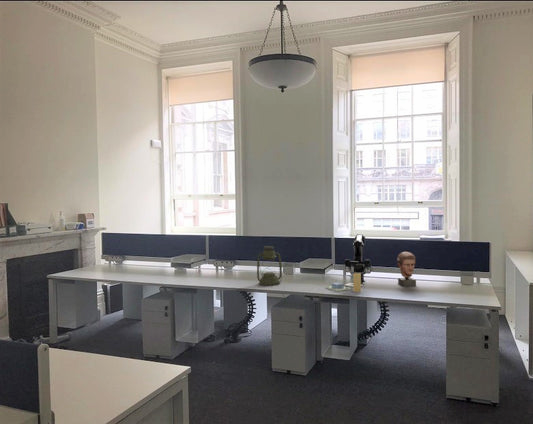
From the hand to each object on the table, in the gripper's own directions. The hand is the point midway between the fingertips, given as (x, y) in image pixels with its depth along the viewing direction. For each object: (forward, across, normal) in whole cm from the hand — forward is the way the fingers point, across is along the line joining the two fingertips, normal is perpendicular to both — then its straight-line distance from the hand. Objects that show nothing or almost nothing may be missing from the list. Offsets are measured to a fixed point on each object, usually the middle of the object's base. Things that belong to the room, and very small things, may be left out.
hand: (357, 272), depth 346 cm
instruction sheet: (-1, +4, -19) cm, 19 cm away
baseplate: (+9, +14, -8) cm, 19 cm away
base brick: (+9, +14, -8) cm, 19 cm away
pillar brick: (+13, 0, -5) cm, 14 cm away
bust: (-5, -36, -23) cm, 43 cm away
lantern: (+2, +69, -16) cm, 71 cm away
